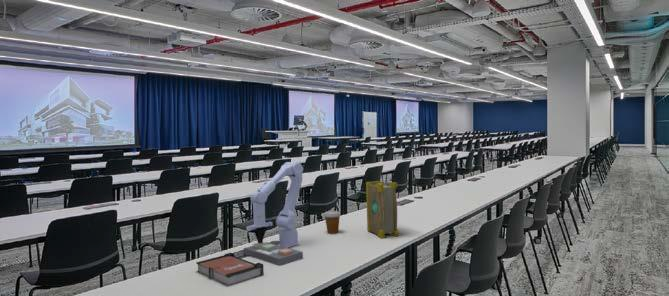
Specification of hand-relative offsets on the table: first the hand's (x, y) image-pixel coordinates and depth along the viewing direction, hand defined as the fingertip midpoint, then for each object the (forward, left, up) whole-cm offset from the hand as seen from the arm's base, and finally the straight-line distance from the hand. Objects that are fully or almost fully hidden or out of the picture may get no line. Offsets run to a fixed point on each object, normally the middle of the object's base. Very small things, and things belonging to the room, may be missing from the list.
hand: (260, 242), depth 207 cm
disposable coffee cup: (-51, +1, -5) cm, 51 cm away
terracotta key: (0, +20, -2) cm, 20 cm away
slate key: (0, +13, -4) cm, 14 cm away
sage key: (0, +7, -3) cm, 7 cm away
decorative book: (-66, +26, -5) cm, 71 cm away
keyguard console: (0, +10, -5) cm, 11 cm away
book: (+27, +15, -6) cm, 32 cm away
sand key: (0, 0, -3) cm, 3 cm away
